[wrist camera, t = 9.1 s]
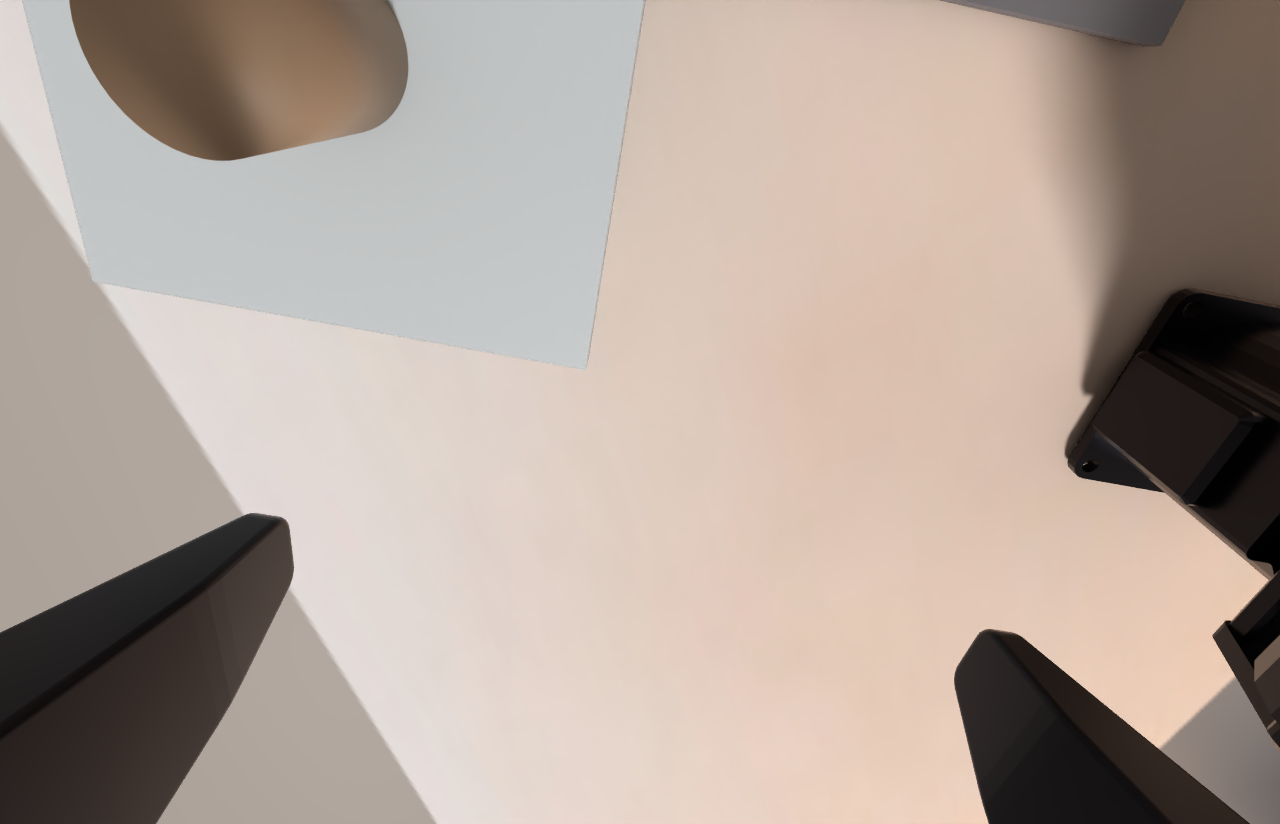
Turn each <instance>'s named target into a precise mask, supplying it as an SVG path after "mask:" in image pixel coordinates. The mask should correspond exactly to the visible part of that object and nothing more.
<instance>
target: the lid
mask: <svg viewBox="0 0 1280 824" xmlns="http://www.w3.org/2000/svg"><path fill="white" fill-rule="evenodd" d="M645 1H646V0H22V2H23V6H24V10H25V14H26V18H27V22H28V26H29V30H30V34H31V38H32V42H33V46H34V50H35V54H36V58H37V62H38V66H39V70H40V74H41V78H42V82H43V86H44V90H45V93H46V97H47V101H48V105H49V109H50V113H51V117H52V121H53V125H54V129H55V133H56V137H57V141H58V145H59V149H60V153H61V157H62V161H63V165H64V169H65V173H66V177H67V180H68V184H69V188H70V192H71V196H72V200H73V204H74V208H75V212H76V216H77V220H78V224H79V228H80V232H81V236H82V240H83V244H84V248H85V252H86V256H87V260H88V264H89V268H90V271H91V275H92V279H93V282H98V283H103V284H109V285H115V286H120V287H126V288H131V289H137V290H142V291H148V292H154V293H159V294H165V295H170V296H176V297H181V298H187V299H193V300H198V301H204V302H209V303H215V304H220V305H226V306H231V307H237V308H243V309H248V310H254V311H259V312H265V313H270V314H276V315H282V316H287V317H293V318H298V319H304V320H309V321H315V322H321V323H326V324H332V325H337V326H343V327H348V328H354V329H360V330H365V331H371V332H376V333H382V334H387V335H393V336H398V337H404V338H410V339H415V340H421V341H426V342H432V343H437V344H443V345H449V346H454V347H460V348H465V349H471V350H476V351H482V352H488V353H493V354H499V355H504V356H510V357H515V358H521V359H527V360H532V361H538V362H543V363H549V364H554V365H560V366H565V367H571V368H577V369H582V370H586V366H587V362H588V358H589V353H590V347H591V340H592V334H593V328H594V322H595V315H596V309H597V303H598V296H599V290H600V284H601V277H602V271H603V265H604V259H605V252H606V246H607V240H608V233H609V227H610V221H611V215H612V208H613V202H614V196H615V189H616V183H617V177H618V171H619V164H620V158H621V152H622V145H623V139H624V133H625V126H626V120H627V114H628V108H629V101H630V95H631V89H632V82H633V76H634V70H635V64H636V57H637V51H638V45H639V38H640V32H641V26H642V19H643V13H644V7H645Z"/></svg>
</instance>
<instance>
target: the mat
mask: <svg viewBox="0 0 1280 824" xmlns="http://www.w3.org/2000/svg"><path fill="white" fill-rule="evenodd" d="M941 1H945V2H950V3H954V4H959V5H963V6H967V7H972V8H976V9H981V10H985V11H989V12H994V13H998V14H1003V15H1007V16H1012V17H1016V18H1020V19H1025V20H1029V21H1034V22H1038V23H1042V24H1047V25H1051V26H1056V27H1060V28H1064V29H1069V30H1073V31H1078V32H1082V33H1087V34H1091V35H1095V36H1100V37H1104V38H1109V39H1113V40H1117V41H1122V42H1126V43H1131V44H1135V45H1140V46H1144V47H1145V46H1162V44H1163V42H1164V40H1165V38H1166V36H1167V34H1168V32H1169V30H1170V28H1171V26H1172V24H1173V23H1174V21H1175V19H1176V17H1177V15H1178V13H1179V11H1180V9H1181V7H1182V5H1183V3H1184V1H1185V0H941Z"/></svg>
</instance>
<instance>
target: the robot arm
mask: <svg viewBox="0 0 1280 824" xmlns="http://www.w3.org/2000/svg"><path fill="white" fill-rule="evenodd" d="M1191 302H1192V304H1191V307H1190V308H1189V309H1188V310H1187V311H1185V312H1183V310H1184V308H1185V307H1186V306H1187V305H1188V304H1189V303H1191ZM1089 460H1091V461H1090V462H1089V463H1088V464H1085V465H1083V464H1084V463H1085V462H1086V461H1089ZM1068 467H1069V468H1070V469H1071V470H1072V471H1073V472H1074V473H1075V474H1076V475H1077V476H1078V477H1081V478H1085V479H1090V480H1096V481H1102V482H1107V483H1113V484H1119V485H1124V486H1130V487H1135V488H1141V489H1147V490H1152V491H1158V492H1164V493H1166V494H1167V495H1168V496H1170V497H1171V498H1172V499H1173V500H1174V501H1176V502H1177V503H1178V504H1179V505H1180V506H1181V507H1183V508H1184V509H1185V510H1186V511H1187V512H1189V513H1190V514H1191V515H1192V516H1193V517H1195V518H1196V519H1197V520H1198V521H1199V522H1200V523H1202V524H1203V525H1204V526H1205V527H1206V528H1208V529H1209V530H1210V531H1211V532H1212V533H1214V534H1215V535H1216V536H1217V537H1218V538H1219V539H1221V540H1222V541H1223V542H1224V543H1225V544H1227V545H1228V546H1229V547H1230V548H1231V549H1233V550H1234V551H1235V552H1236V553H1237V554H1238V555H1240V556H1241V557H1242V558H1243V559H1244V560H1246V561H1247V562H1248V563H1249V564H1250V565H1252V566H1253V567H1254V568H1255V569H1256V570H1257V571H1259V572H1260V573H1261V574H1262V575H1263V576H1265V577H1266V578H1267V579H1268V580H1269V581H1268V582H1267V583H1266V584H1265V585H1264V586H1263V587H1262V589H1261V590H1260V591H1259V592H1258V593H1257V594H1256V595H1255V596H1254V597H1253V598H1252V599H1251V600H1250V602H1249V603H1248V604H1247V605H1246V606H1245V607H1244V608H1243V609H1242V610H1241V611H1240V612H1239V613H1238V615H1237V616H1236V617H1235V618H1234V619H1233V620H1232V621H1225V622H1224V623H1223V624H1222V625H1221V626H1220V628H1219V629H1218V630H1217V631H1216V632H1215V633H1214V634H1213V635H1212V636H1213V638H1214V640H1215V642H1216V644H1217V645H1218V647H1219V649H1220V650H1221V652H1222V654H1223V656H1224V657H1225V659H1226V661H1227V662H1228V664H1229V666H1230V668H1231V669H1232V671H1233V673H1234V674H1235V676H1236V678H1237V679H1238V681H1239V682H1240V685H1241V686H1242V688H1243V690H1244V691H1245V693H1246V695H1247V696H1248V698H1249V700H1250V702H1251V703H1252V705H1253V707H1254V709H1255V710H1256V712H1257V714H1258V715H1259V717H1260V719H1261V720H1262V722H1263V724H1264V725H1265V727H1266V729H1267V732H1268V734H1269V736H1270V738H1271V741H1272V743H1273V745H1274V746H1275V747H1276V749H1277V750H1278V751H1279V752H1280V306H1277V305H1272V304H1267V303H1262V302H1257V301H1252V300H1247V299H1242V298H1237V297H1232V296H1227V295H1222V294H1217V293H1212V292H1207V291H1202V290H1197V289H1184V290H1181V291H1178V292H1177V293H1175V294H1174V295H1172V296H1171V297H1170V298H1169V300H1168V301H1167V302H1166V303H1165V305H1164V307H1163V308H1162V310H1161V311H1160V313H1159V315H1158V316H1157V318H1156V319H1155V321H1154V323H1153V324H1152V326H1151V327H1150V329H1149V331H1148V332H1147V334H1146V335H1145V337H1144V339H1143V340H1142V342H1141V343H1140V345H1139V346H1138V348H1137V350H1136V351H1135V353H1134V354H1133V356H1132V358H1131V359H1130V361H1129V362H1128V364H1127V366H1126V367H1125V369H1124V370H1123V372H1122V374H1121V375H1120V377H1119V378H1118V380H1117V382H1116V383H1115V385H1114V386H1113V388H1112V390H1111V391H1110V393H1109V394H1108V396H1107V398H1106V399H1105V401H1104V402H1103V404H1102V405H1101V407H1100V409H1099V410H1098V412H1097V413H1096V415H1095V417H1094V418H1093V420H1092V421H1091V423H1090V425H1089V426H1088V428H1087V429H1086V431H1085V433H1084V434H1083V436H1082V437H1081V439H1080V441H1079V442H1078V444H1077V445H1076V447H1075V449H1074V450H1073V452H1072V453H1071V455H1070V456H1069V459H1068ZM293 572H294V562H293V554H292V546H291V537H290V529H289V525H288V523H287V521H286V520H285V519H284V518H282V517H278V516H271V515H265V514H259V513H250V514H246V515H244V516H241V517H239V518H237V519H235V520H233V521H231V522H229V523H227V524H225V525H223V526H221V527H219V528H217V529H214V530H212V531H210V532H208V533H206V534H204V535H202V536H200V537H198V538H196V539H194V540H192V541H190V542H187V543H185V544H183V545H181V546H179V547H177V548H175V549H173V550H171V551H169V552H167V553H165V554H163V555H160V556H158V557H156V558H155V559H152V560H150V561H148V562H146V563H144V564H142V565H140V566H138V567H136V568H134V569H132V570H129V571H127V572H125V573H123V574H121V575H119V576H117V577H115V578H113V579H111V580H109V581H107V582H104V583H102V584H100V585H98V586H96V587H94V588H92V589H90V590H88V591H86V592H84V593H82V594H80V595H78V596H75V597H73V598H71V599H69V600H67V601H65V602H63V603H61V604H59V605H57V606H55V607H53V608H51V609H48V610H46V611H44V612H42V613H40V614H38V615H36V616H34V617H32V618H30V619H28V620H26V621H24V622H21V623H19V624H17V625H15V626H13V627H11V628H9V629H7V630H5V631H3V632H1V633H0V824H156V823H157V821H158V820H159V818H160V817H161V815H162V814H163V812H164V810H165V809H166V807H167V806H168V804H169V802H170V801H171V799H172V798H173V796H174V795H175V793H176V791H177V790H178V788H179V787H180V785H181V783H182V782H183V780H184V779H185V777H186V775H187V774H188V772H189V771H190V769H191V767H192V766H193V764H194V763H195V761H196V760H197V758H198V756H199V755H200V753H201V752H202V750H203V748H204V747H205V745H206V743H207V742H208V740H209V739H210V737H211V736H212V734H213V732H214V731H215V729H216V728H217V726H218V725H219V723H220V721H221V720H222V718H223V716H224V714H225V713H226V711H227V709H228V708H229V706H230V704H231V703H232V701H233V699H234V697H235V695H236V693H237V691H238V689H239V688H240V685H241V684H242V682H243V680H244V677H245V676H246V674H247V672H248V670H249V668H250V666H251V664H252V661H253V659H254V657H255V655H256V653H257V651H258V649H259V647H260V645H261V643H262V641H263V639H264V637H265V635H266V633H267V631H268V629H269V627H270V625H271V623H272V621H273V619H274V617H275V615H276V612H277V611H278V609H279V607H280V605H281V603H282V601H283V598H284V597H285V594H286V592H287V590H288V588H289V586H290V584H291V581H292V577H293ZM954 685H955V691H956V695H957V699H958V703H959V708H960V712H961V716H962V720H963V724H964V729H965V733H966V737H967V741H968V746H969V750H970V754H971V758H972V763H973V767H974V771H975V775H976V780H977V784H978V788H979V792H980V795H981V799H982V803H983V807H984V810H985V813H986V816H987V819H988V823H989V824H1250V823H1248V822H1247V821H1246V820H1245V819H1243V818H1242V817H1241V816H1240V815H1239V814H1237V813H1236V812H1235V811H1234V810H1232V809H1231V808H1230V807H1229V806H1228V805H1226V804H1225V803H1224V802H1222V801H1221V800H1220V799H1219V798H1218V797H1217V796H1215V795H1214V794H1213V793H1212V792H1210V791H1209V790H1208V789H1207V788H1206V787H1204V786H1203V785H1202V784H1201V783H1199V782H1198V781H1197V780H1196V779H1195V778H1193V777H1192V776H1191V775H1190V774H1188V773H1187V772H1186V771H1185V770H1184V769H1182V768H1181V767H1180V766H1179V765H1178V764H1176V763H1175V762H1174V761H1173V760H1171V759H1170V758H1169V757H1168V756H1166V755H1165V754H1164V753H1163V752H1162V751H1160V750H1159V749H1158V748H1157V747H1156V746H1154V745H1153V744H1152V743H1151V742H1149V741H1148V740H1147V739H1146V738H1145V737H1143V736H1142V735H1141V734H1140V733H1138V732H1137V731H1136V730H1135V729H1134V728H1132V727H1131V726H1130V725H1129V724H1127V723H1126V722H1125V721H1124V720H1123V719H1121V718H1120V717H1119V716H1118V715H1116V714H1115V713H1114V712H1113V711H1112V710H1110V709H1109V708H1108V707H1107V706H1106V705H1104V704H1103V703H1102V702H1101V701H1099V700H1098V699H1097V698H1096V697H1095V696H1093V695H1092V694H1091V693H1090V692H1088V691H1087V690H1086V689H1085V688H1084V687H1082V686H1081V685H1080V684H1079V683H1077V682H1076V681H1075V680H1074V679H1073V678H1071V677H1070V676H1069V675H1068V674H1066V673H1065V672H1064V671H1063V670H1062V669H1060V668H1059V667H1058V666H1057V665H1055V664H1054V663H1053V662H1052V661H1051V660H1049V659H1048V658H1047V657H1046V656H1045V655H1043V654H1042V653H1041V652H1040V651H1038V650H1037V649H1036V648H1035V647H1034V646H1032V645H1031V644H1030V643H1029V642H1027V641H1026V640H1025V639H1024V638H1022V637H1021V636H1020V635H1018V634H1015V633H1012V632H1006V631H1000V630H994V629H985V630H983V631H982V632H980V633H979V634H978V635H977V637H976V638H975V640H974V641H973V643H972V644H971V646H970V648H969V649H968V651H967V652H966V654H965V655H964V657H963V658H962V660H961V661H960V663H959V664H958V666H957V668H956V671H955V677H954Z"/></svg>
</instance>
